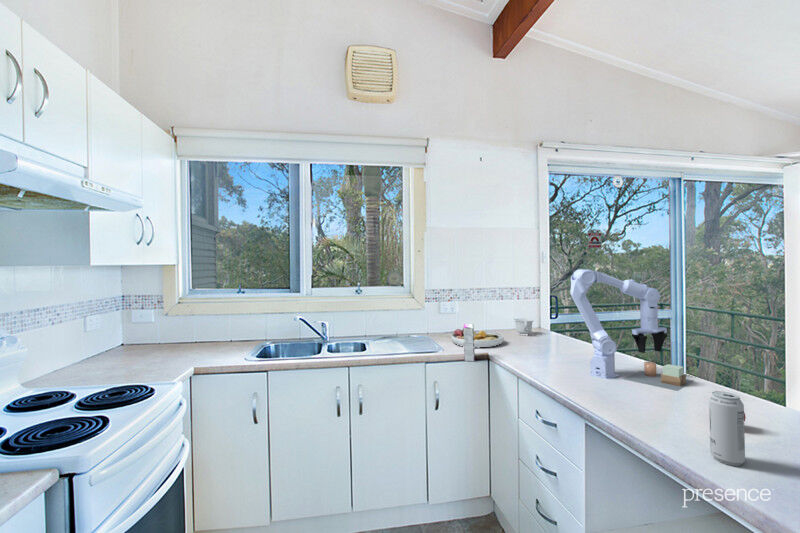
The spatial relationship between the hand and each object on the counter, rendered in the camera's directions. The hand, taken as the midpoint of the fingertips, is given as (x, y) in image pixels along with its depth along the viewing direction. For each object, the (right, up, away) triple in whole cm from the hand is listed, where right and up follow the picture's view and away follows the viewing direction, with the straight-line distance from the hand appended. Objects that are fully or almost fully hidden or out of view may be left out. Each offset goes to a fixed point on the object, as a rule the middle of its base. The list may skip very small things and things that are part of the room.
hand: (649, 351), depth 148 cm
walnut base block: (+2, -9, -10) cm, 14 cm away
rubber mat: (-1, -10, -6) cm, 11 cm away
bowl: (-54, -12, +71) cm, 90 cm away
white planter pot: (-19, -11, +91) cm, 94 cm away
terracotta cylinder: (0, -9, 0) cm, 9 cm away
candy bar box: (-65, -12, +35) cm, 75 cm away
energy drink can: (-24, -11, -63) cm, 68 cm away
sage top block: (+2, -6, -10) cm, 12 cm away
